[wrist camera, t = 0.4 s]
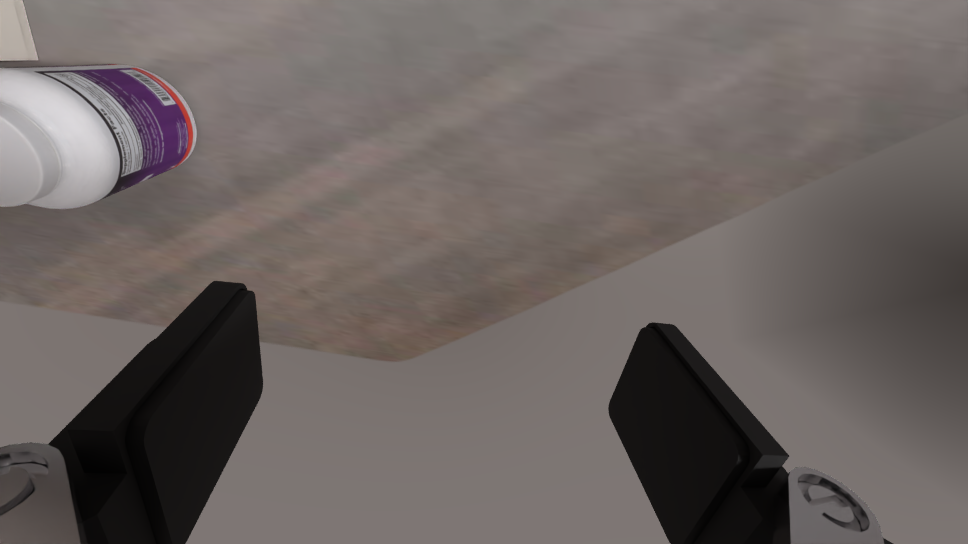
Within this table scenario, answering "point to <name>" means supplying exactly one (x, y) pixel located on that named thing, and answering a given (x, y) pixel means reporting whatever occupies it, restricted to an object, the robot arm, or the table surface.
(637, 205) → the table surface
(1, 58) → the bin
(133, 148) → the pill bottle
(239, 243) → the table surface
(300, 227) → the table surface
